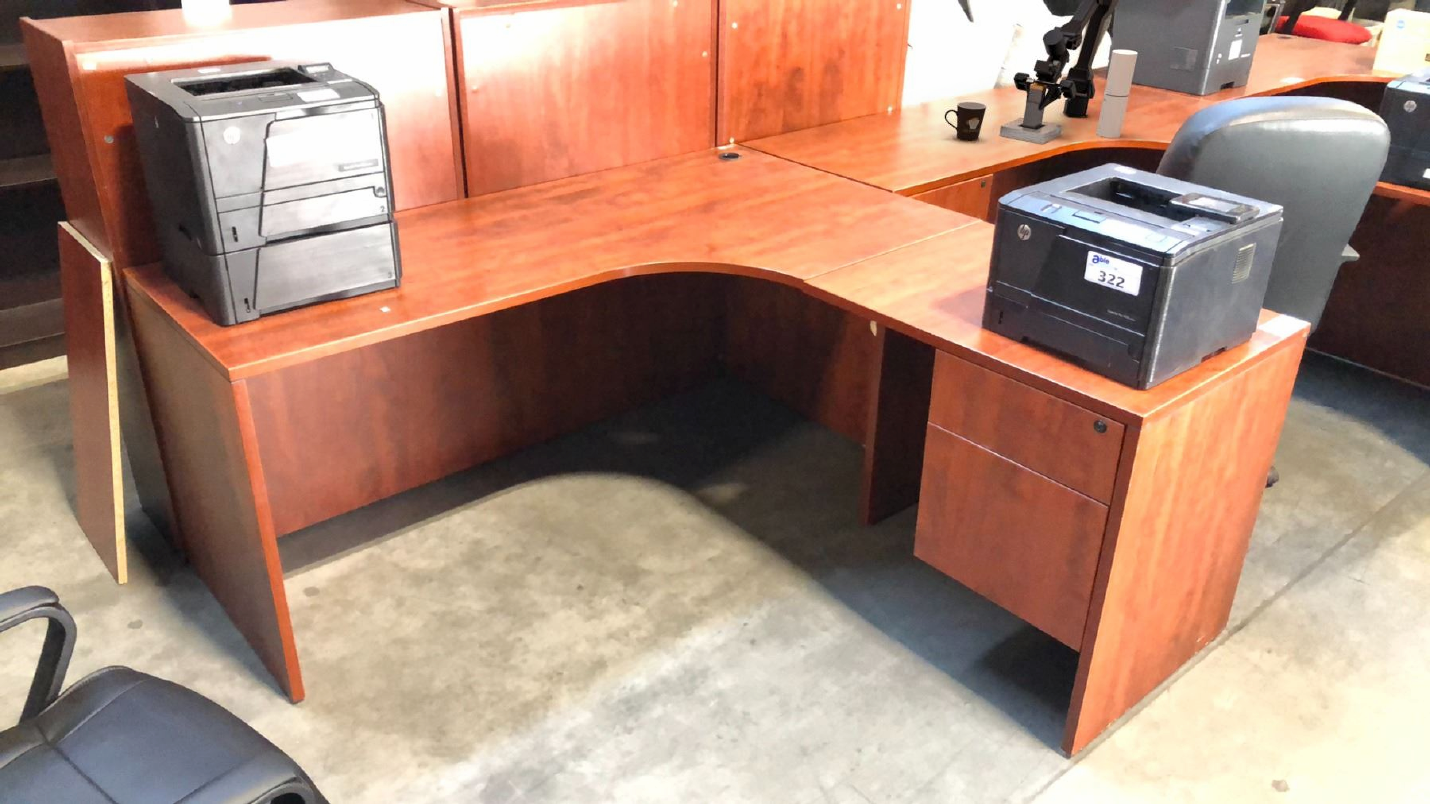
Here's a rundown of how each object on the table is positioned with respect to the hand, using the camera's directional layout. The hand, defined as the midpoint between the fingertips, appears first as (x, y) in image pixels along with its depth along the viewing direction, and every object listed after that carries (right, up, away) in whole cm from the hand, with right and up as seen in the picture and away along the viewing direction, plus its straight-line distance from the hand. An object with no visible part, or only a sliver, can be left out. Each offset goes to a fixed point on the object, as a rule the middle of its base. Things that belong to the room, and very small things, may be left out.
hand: (1033, 108), depth 318 cm
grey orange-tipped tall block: (+1, -6, +4) cm, 7 cm away
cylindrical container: (+26, -6, +7) cm, 27 cm away
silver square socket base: (+1, -7, +5) cm, 9 cm away
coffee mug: (-21, -9, +1) cm, 23 cm away
